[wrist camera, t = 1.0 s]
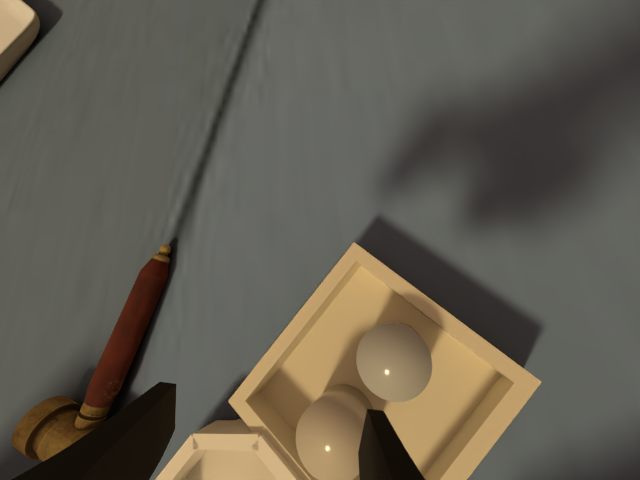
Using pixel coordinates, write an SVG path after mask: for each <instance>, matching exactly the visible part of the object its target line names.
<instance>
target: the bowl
mask: <svg viewBox="0 0 640 480" xmlns="http://www.w3.org/2000/svg"><path fill="white" fill-rule="evenodd" d="M156 480H301V479H300V478H299V476H298V475H297V474H296V473H295V472H294V470H293V469H292V468H291V467H290V465H289V464H288V463H287V462H286V461H285V459H284V458H283V457H282V456H281V455H280V453H279V452H278V451H277V450H276V449H275V447H274V446H273V445H272V444H271V442H270V441H269V440H268V439H267V438H266V436H265V435H264V434H261V432H252V430H251V429H250V428H249V427H248V426H247V424H246V423H245V422H244V421H243V419H242V418H241V419H236V420H216V421H214V422H213V423H211V424H209V425H207V426H206V427H204V428H202V429H200V430H198V431H197V432H195V433H193V434H191V435H190V437H189V438H188V439H187V440H186V442H185V443H184V444H183V445H182V447H181V448H180V449H179V451H178V452H177V453H176V454H175V456H174V457H173V458H172V459H171V461H170V462H169V463H168V464H167V466H166V467H165V468H164V469H163V471H162V472H161V473H160V474H159V476H158V477H157V478H156Z"/></svg>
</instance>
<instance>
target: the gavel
mask: <svg viewBox="0 0 640 480" xmlns="http://www.w3.org/2000/svg"><path fill="white" fill-rule="evenodd" d="M170 252H171V247H170V246H169V245H162V246H161V247H160V252H159V254H154V255H153V257H152V259H151V260H150V261H149V262H148V263H147V264H146V265H145V266H144V267H143V268H142V269H141V271H140V273H139V275H138V277H137V279H136V281H135V284H134V286H133V288H132V290H131V292H130V295H129V297H128V299H127V301H126V304H125V306H124V308H123V310H122V312H121V315H120V317H119V319H118V321H117V323H116V326H115V328H114V330H113V332H112V335H111V337H110V339H109V341H108V343H107V346H106V348H105V350H104V352H103V354H102V357H101V359H100V361H99V363H98V365H97V368H96V370H95V372H94V374H93V377H92V379H91V381H90V383H89V385H88V389H87V393H86V397H85V400H84V403H83V405H82V406H81V405H80V404H78V403H76V402H75V401H73V400H71V399H70V398H68V397H65V396H57V397H53V398H50V399H47V400H45V401H43V402H42V403H40V404H38V405H37V406H35V407H34V408H33V409H32V410H30V411H29V412H28V413H27V414H26V415H25V416H24V417H23V418H22V420H21V421H20V422H19V424H18V425H17V427H16V429H15V431H14V433H13V437H12V444H13V446H14V448H16V449H17V450H18V451H20V452H21V453H22V454H24V455H25V456H26V457H28V458H29V459H32V460H39V459H40V460H41V461H43V462H44V461H45V460H47V459H49V458H50V457H52V456H54V455H55V454H57V453H59V452H60V451H62V450H63V449H65V448H67V447H68V446H70V445H71V444H73V443H74V442H76V441H77V440H79V439H80V438H82V437H83V436H85V435H86V434H88V433H89V432H91V431H92V430H94V429H95V428H97V427H98V426H100V425H101V424H103V423H104V421H105V419H106V417H107V415H106V414H107V413H108V411H109V409H110V406H111V404H112V403H113V401H114V399H115V398H116V396H117V395H118V393H119V391H120V389H121V387H122V385H123V382H124V380H125V378H126V375H127V373H128V371H129V368H130V366H131V364H132V361H133V359H134V357H135V354H136V352H137V350H138V347H139V345H140V343H141V340H142V338H143V336H144V333H145V331H146V329H147V326H148V324H149V322H150V319H151V317H152V315H153V312H154V310H155V308H156V305H157V303H158V301H159V298H160V296H161V293H162V291H163V289H164V286H165V284H166V282H167V279H168V267H169V261H170V259H169V258H168V257H167V255H168V254H169V253H170Z"/></svg>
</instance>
